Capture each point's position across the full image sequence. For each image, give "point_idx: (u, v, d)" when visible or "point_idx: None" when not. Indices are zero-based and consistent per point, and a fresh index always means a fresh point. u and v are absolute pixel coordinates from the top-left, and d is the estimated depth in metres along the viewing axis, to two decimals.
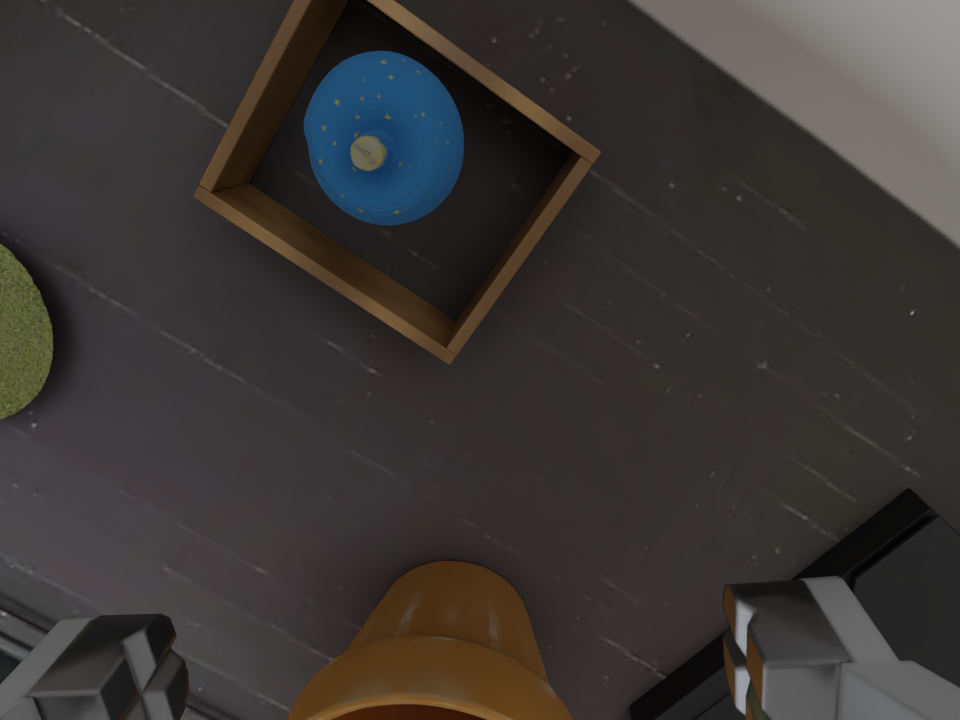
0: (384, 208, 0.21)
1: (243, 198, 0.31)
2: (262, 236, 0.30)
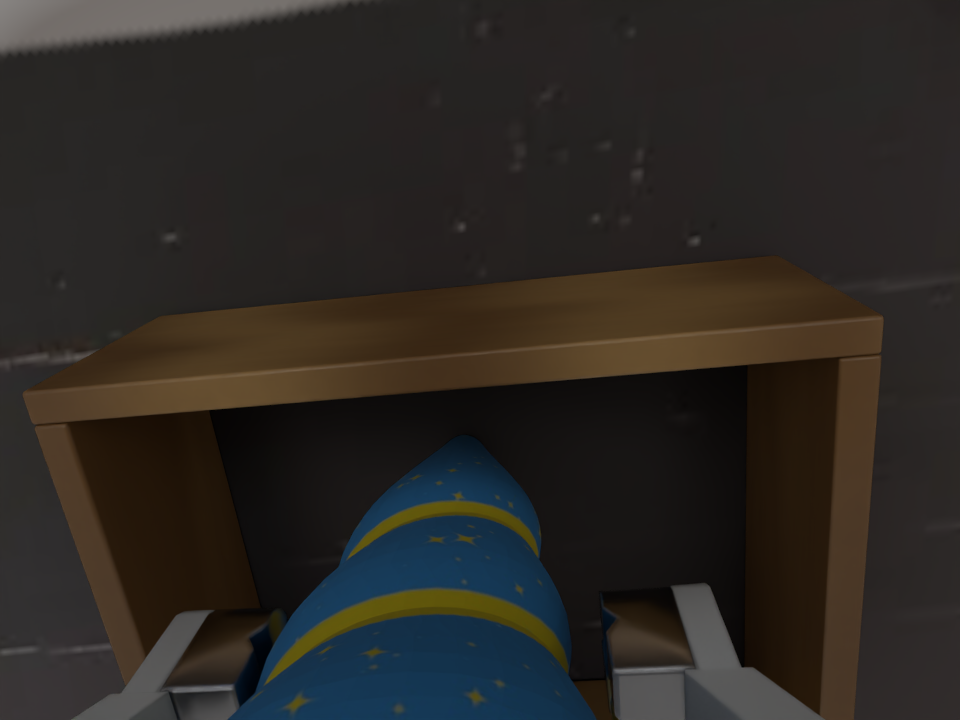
0: None
1: None
2: None
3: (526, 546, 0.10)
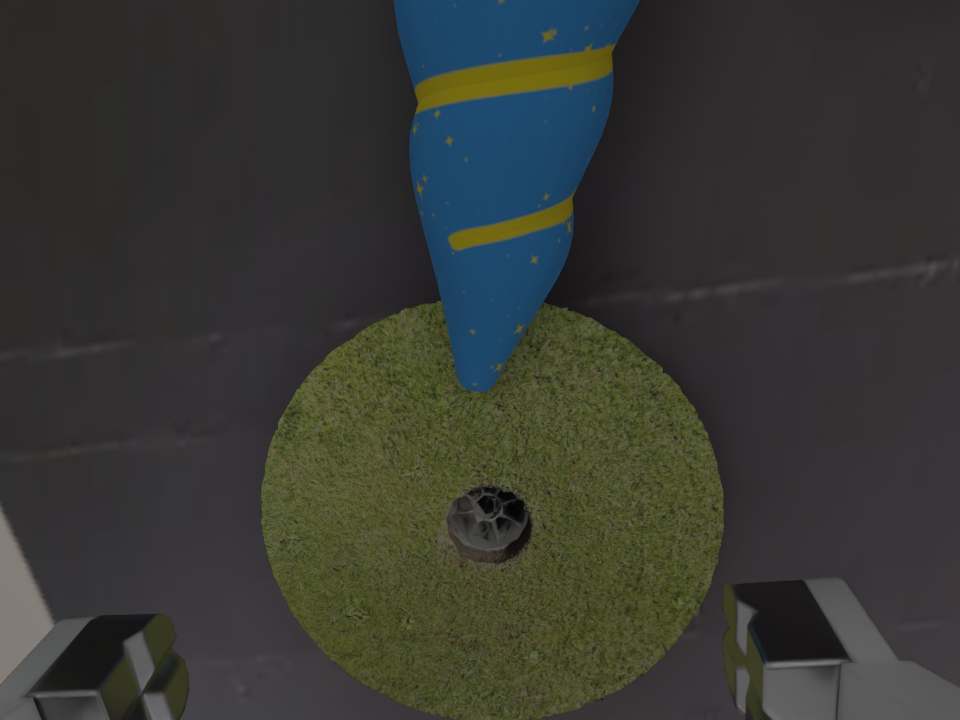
0: None
1: None
2: None
3: None
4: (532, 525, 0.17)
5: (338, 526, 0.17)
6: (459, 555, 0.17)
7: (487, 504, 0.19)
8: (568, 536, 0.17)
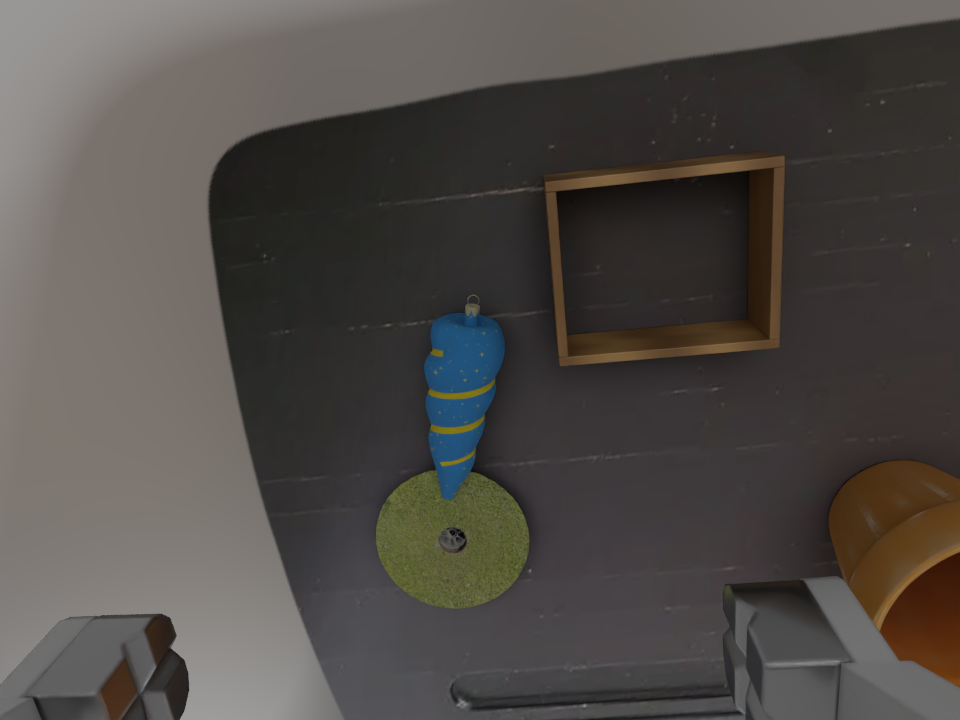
0: (491, 328, 0.44)
1: (579, 346, 0.45)
2: (613, 358, 0.43)
3: None
4: (466, 540, 0.51)
5: (401, 540, 0.51)
6: (442, 550, 0.51)
7: (453, 532, 0.53)
8: (478, 544, 0.51)
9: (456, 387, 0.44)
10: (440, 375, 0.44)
